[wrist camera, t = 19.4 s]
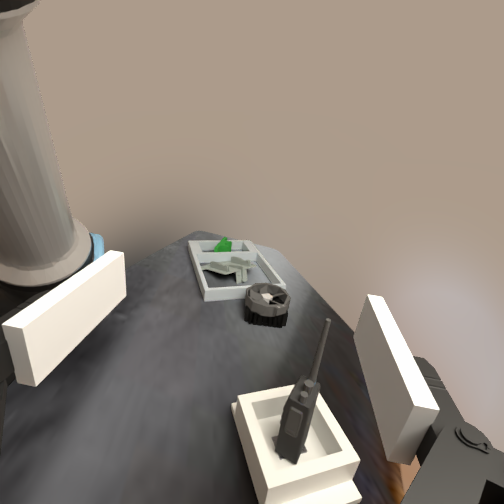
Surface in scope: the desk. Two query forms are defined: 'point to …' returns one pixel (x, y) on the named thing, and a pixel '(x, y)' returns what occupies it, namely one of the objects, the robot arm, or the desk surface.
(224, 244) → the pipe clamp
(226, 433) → the desk surface
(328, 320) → the walkie-talkie
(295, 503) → the charging cradle
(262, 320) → the cpu cooler
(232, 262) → the metal bracket
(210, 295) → the desk organiser
